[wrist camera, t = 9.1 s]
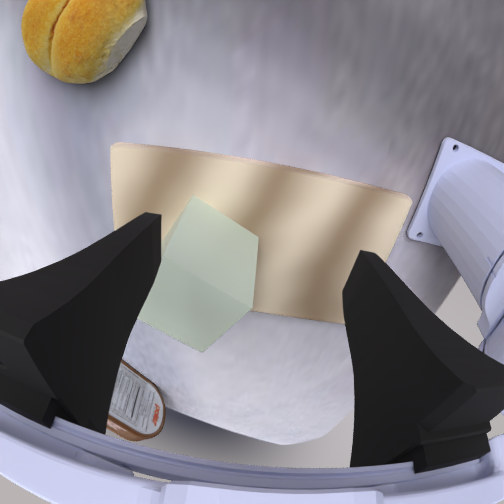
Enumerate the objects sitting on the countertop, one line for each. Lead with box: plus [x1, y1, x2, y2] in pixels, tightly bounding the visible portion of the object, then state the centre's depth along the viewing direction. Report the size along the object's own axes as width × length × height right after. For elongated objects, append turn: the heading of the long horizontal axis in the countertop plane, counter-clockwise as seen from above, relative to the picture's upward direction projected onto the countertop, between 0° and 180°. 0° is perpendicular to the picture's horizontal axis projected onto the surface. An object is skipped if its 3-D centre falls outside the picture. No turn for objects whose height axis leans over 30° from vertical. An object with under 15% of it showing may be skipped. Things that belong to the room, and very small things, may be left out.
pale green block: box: [137, 195, 259, 352], centre depth 19 cm, size 5×5×7 cm
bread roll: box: [21, 0, 148, 84], centre depth 12 cm, size 8×9×4 cm
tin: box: [106, 360, 166, 441], centre depth 31 cm, size 15×3×8 cm, turn 33°
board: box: [111, 142, 412, 324], centre depth 22 cm, size 20×12×1 cm, turn 81°
